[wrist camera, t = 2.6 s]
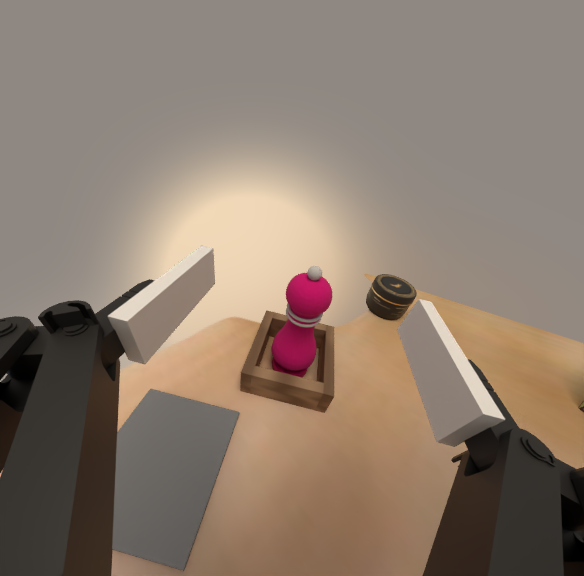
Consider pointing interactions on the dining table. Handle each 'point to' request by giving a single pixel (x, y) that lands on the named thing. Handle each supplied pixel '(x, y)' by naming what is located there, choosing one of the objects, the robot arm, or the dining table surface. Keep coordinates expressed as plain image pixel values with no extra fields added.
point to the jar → (390, 296)
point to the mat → (167, 475)
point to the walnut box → (288, 385)
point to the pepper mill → (301, 322)
